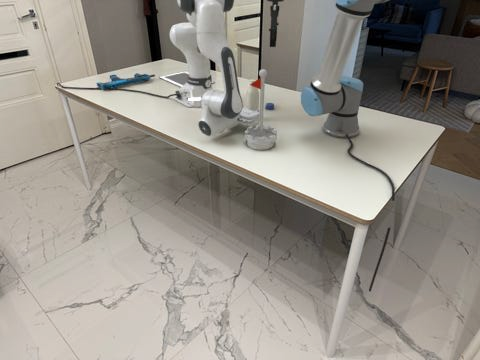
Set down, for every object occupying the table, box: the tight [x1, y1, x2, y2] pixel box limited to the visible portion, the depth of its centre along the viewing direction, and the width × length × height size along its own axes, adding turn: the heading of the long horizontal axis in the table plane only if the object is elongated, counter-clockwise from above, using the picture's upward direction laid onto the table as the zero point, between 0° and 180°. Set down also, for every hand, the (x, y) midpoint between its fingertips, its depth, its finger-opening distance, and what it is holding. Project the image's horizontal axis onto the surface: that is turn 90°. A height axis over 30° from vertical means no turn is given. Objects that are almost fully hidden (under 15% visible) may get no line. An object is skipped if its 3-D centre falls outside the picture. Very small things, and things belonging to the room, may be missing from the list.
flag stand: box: [244, 68, 278, 151], centre depth 131 cm, size 13×13×30 cm
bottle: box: [246, 78, 260, 111], centre depth 156 cm, size 6×6×19 cm
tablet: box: [158, 70, 215, 88], centre depth 212 cm, size 32×20×1 cm, turn 41°
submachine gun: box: [95, 72, 156, 91], centre depth 209 cm, size 34×4×25 cm
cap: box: [265, 102, 275, 111], centre depth 172 cm, size 4×4×2 cm
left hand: (249, 108), depth 156 cm, fingers open, 8 cm apart
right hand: (273, 43), depth 155 cm, fingers open, 13 cm apart
